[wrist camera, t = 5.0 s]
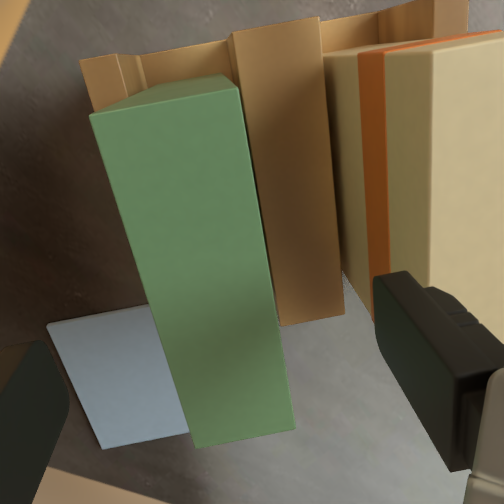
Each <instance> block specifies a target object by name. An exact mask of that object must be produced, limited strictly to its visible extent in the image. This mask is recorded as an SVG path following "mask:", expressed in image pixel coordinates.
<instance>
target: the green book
mask: <svg viewBox="0 0 504 504" xmlns="http://www.w3.org/2000/svg"><path fill="white" fill-rule="evenodd" d="M89 120H90V123H91V126H92V129H93V132H94V135H95V138H96V142H97V145H98V148H99V151H100V154H101V157H102V160H103V163H104V167H105V170H106V173H107V176H108V179H109V182H110V185H111V188H112V191H113V195H114V198H115V201H116V204H117V207H118V210H119V213H120V216H121V219H122V223H123V226H124V229H125V232H126V235H127V238H128V241H129V244H130V248H131V251H132V254H133V257H134V260H135V263H136V266H137V269H138V272H139V276H140V279H141V282H142V285H143V288H144V291H145V294H146V297H147V300H148V304H149V307H150V310H151V313H152V316H153V319H154V322H155V325H156V329H157V332H158V335H159V338H160V341H161V344H162V347H163V350H164V353H165V357H166V360H167V363H168V366H169V369H170V372H171V375H172V378H173V381H174V385H175V388H176V391H177V394H178V397H179V400H180V403H181V406H182V410H183V413H184V416H185V419H186V422H187V425H188V428H189V431H190V434H191V438H192V441H193V444H194V447H195V449H198V448H204V447H209V446H214V445H219V444H224V443H229V442H234V441H239V440H244V439H249V438H254V437H259V436H264V435H269V434H274V433H279V432H284V431H289V430H294V429H296V424H295V418H294V413H293V407H292V401H291V395H290V389H289V383H288V377H287V371H286V365H285V359H284V354H283V348H282V342H281V336H280V330H279V324H278V318H277V312H276V306H275V300H274V295H273V289H272V283H271V277H270V271H269V265H268V259H267V253H266V247H265V241H264V236H263V230H262V224H261V218H260V212H259V206H258V200H257V194H256V188H255V182H254V177H253V171H252V165H251V159H250V153H249V147H248V141H247V135H246V129H245V123H244V118H243V112H242V106H241V100H240V94H239V89H238V87H237V86H235V85H234V84H233V83H232V82H231V81H230V80H229V79H228V78H227V77H226V76H225V75H224V74H222V73H216V74H210V75H205V76H200V77H194V78H189V79H183V80H178V81H173V82H167V83H162V84H157V85H155V86H153V87H151V88H148V89H146V90H144V91H142V92H139V93H137V94H135V95H133V96H130V97H128V98H126V99H123V100H121V101H119V102H117V103H114V104H112V105H110V106H108V107H105V108H103V109H101V110H99V111H96V112H94V113H92V114H90V115H89Z"/></svg>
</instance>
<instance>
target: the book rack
mask: <svg viewBox="0 0 504 504" xmlns="http://www.w3.org/2000/svg"><path fill="white" fill-rule="evenodd" d="M468 12H469V0H414V1H411V2H408V3H404V4H401V5H398V6H394V7H391V8H387V9H384V10H381V11H377V12H371V13H366V14H361V15H355V16H350V17H344V18H339V19H334V20H328V21H323V22H320V18H319V16H316V17H310V18H305V19H299V20H294V21H289V22H283V23H278V24H272V25H267V26H262V27H256V28H251V29H245V30H240V31H235V32H232V33H231V34H230V36H229V37H228V38H227V39H225V40H220V41H215V42H209V43H204V44H198V45H193V46H188V47H182V48H177V49H171V50H166V51H161V52H155V53H150V54H144V55H127V54H110V55H104V56H99V57H94V58H88V59H83V60H79V65H80V68H81V71H82V74H83V77H84V80H85V84H86V87H87V90H88V93H89V96H90V100H91V103H92V106H93V109H94V112H96V111H99V110H101V109H103V108H105V107H108V106H110V105H112V104H114V103H117V102H119V101H121V100H123V99H126V98H128V97H130V96H133V95H135V94H137V93H139V92H142V91H144V90H146V89H148V88H151V87H153V86H155V85H157V84H162V83H167V82H173V81H178V80H183V79H189V78H194V77H200V76H205V75H210V74H216V73H222V74H224V75H225V76H226V77H227V78H228V79H229V80H230V81H231V82H232V83H233V84H234V85H235V86H237V87H238V89H239V94H240V100H241V106H242V112H243V118H244V123H245V129H246V135H247V141H248V147H249V153H250V159H251V165H252V171H253V177H254V182H255V188H256V194H257V200H258V206H259V212H260V218H261V224H262V230H263V236H264V241H265V247H266V253H267V259H268V265H269V271H270V277H271V283H272V289H273V295H274V300H275V306H276V312H277V315H278V319H279V323H280V326H281V327H282V326H287V325H293V324H298V323H303V322H308V321H313V320H318V319H323V318H328V317H334V316H339V315H344V314H345V306H344V295H343V283H342V271H341V260H340V248H339V237H338V225H337V214H336V202H335V191H334V179H333V168H332V156H331V144H330V133H329V121H328V110H327V98H326V87H325V75H324V64H323V53H329V52H334V51H339V50H345V49H350V48H355V47H361V46H366V45H375V44H384V43H394V42H404V41H414V40H423V39H433V38H440V37H446V36H451V35H456V34H464V33H468Z"/></svg>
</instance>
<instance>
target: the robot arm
mask: <svg viewBox="0 0 504 504" xmlns="http://www.w3.org/2000/svg"><path fill="white" fill-rule="evenodd" d="M372 287H373V306H374V324H375V335H376V339H377V343H378V346H379V349H380V352H381V354H382V356H383V358H384V359H385V361H386V363H387V364H388V366H389V368H390V370H391V371H392V373H393V375H394V376H395V378H396V380H397V382H398V383H399V385H400V387H401V389H402V390H403V392H404V394H405V395H406V397H407V399H408V401H409V402H410V404H411V406H412V408H413V409H414V411H415V413H416V414H417V416H418V418H419V420H420V421H421V423H422V425H423V427H424V428H425V430H426V432H427V433H428V435H429V437H430V439H431V440H432V442H433V444H434V446H435V447H436V449H437V451H438V452H439V454H440V456H441V458H442V459H443V461H444V463H445V465H446V466H447V468H448V470H449V471H450V472H456V471H461V470H466V469H470V470H471V471H472V473H471V474H469V477H468V481H467V486H466V491H465V496H464V502H463V504H504V344H502V343H501V342H500V341H499V340H498V339H497V338H496V337H495V336H494V335H493V334H492V333H491V332H490V331H489V330H488V329H487V328H486V327H485V326H484V325H483V324H482V323H479V320H478V319H477V318H476V317H475V316H474V315H473V314H472V313H471V312H468V311H467V309H466V308H465V307H464V306H463V305H462V304H461V303H460V302H459V301H458V300H457V299H456V298H455V297H454V296H453V295H451V294H449V293H446V292H444V291H442V290H440V289H438V288H436V287H434V286H431V287H426V288H423V287H422V286H421V285H420V284H419V283H418V282H417V281H416V280H415V279H414V277H413V276H412V275H411V274H410V273H409V272H408V271H406V270H404V271H399V272H393V273H388V274H383V275H378V276H374V278H373V283H372ZM68 412H69V394H68V390H67V387H66V385H65V383H64V381H63V379H62V377H61V374H60V372H59V370H58V368H57V366H56V364H55V362H54V359H53V357H52V355H51V353H50V351H49V349H48V347H47V345H46V344H45V343H44V342H43V341H41V340H36V341H31V342H26V343H21V344H16V345H11V346H7V347H5V348H4V349H3V350H2V351H1V352H0V504H32V502H33V499H34V497H35V494H36V492H37V489H38V487H39V484H40V482H41V480H42V477H43V475H44V472H45V470H46V467H47V465H48V462H49V460H50V457H51V455H52V453H53V450H54V448H55V445H56V443H57V440H58V438H59V435H60V433H61V430H62V428H63V426H64V423H65V421H66V418H67V415H68Z"/></svg>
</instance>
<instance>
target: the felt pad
mask: <svg viewBox="0 0 504 504" xmlns="http://www.w3.org/2000/svg"><path fill="white" fill-rule="evenodd" d="M46 327H47V329H48V332H49V334H50V336H51V338H52V340H53V343H54V345H55V347H56V349H57V351H58V353H59V356H60V358H61V360H62V362H63V364H64V367H65V369H66V371H67V373H68V375H69V378H70V380H71V382H72V384H73V386H74V389H75V391H76V393H77V395H78V397H79V400H80V402H81V404H82V406H83V408H84V411H85V413H86V415H87V417H88V419H89V421H90V424H91V426H92V428H93V430H94V432H95V435H96V437H97V439H98V441H99V443H100V446H101V448H102V449H107V448H112V447H117V446H122V445H127V444H132V443H137V442H142V441H148V440H153V439H158V438H163V437H168V436H173V435H178V434H183V433H188V432H190V431H189V428H188V425H187V422H186V419H185V416H184V413H183V410H182V406H181V403H180V400H179V397H178V394H177V391H176V388H175V385H174V381H173V378H172V375H171V372H170V369H169V366H168V363H167V360H166V357H165V353H164V350H163V347H162V344H161V341H160V338H159V335H158V332H157V329H156V325H155V322H154V319H153V316H152V313H151V310H150V307H149V304H146V305H141V306H136V307H131V308H126V309H120V310H115V311H110V312H105V313H100V314H95V315H89V316H84V317H79V318H74V319H69V320H64V321H58V322H53V323H48V325H47V326H46Z"/></svg>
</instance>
